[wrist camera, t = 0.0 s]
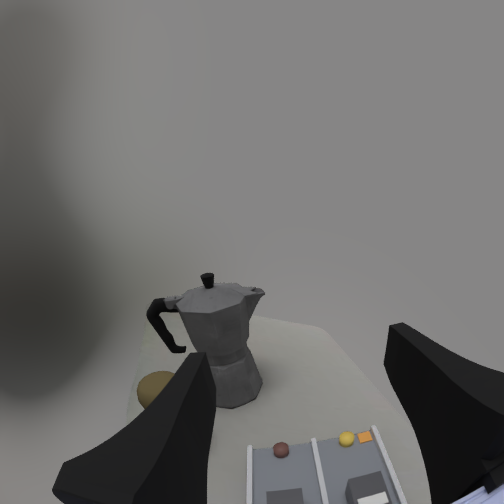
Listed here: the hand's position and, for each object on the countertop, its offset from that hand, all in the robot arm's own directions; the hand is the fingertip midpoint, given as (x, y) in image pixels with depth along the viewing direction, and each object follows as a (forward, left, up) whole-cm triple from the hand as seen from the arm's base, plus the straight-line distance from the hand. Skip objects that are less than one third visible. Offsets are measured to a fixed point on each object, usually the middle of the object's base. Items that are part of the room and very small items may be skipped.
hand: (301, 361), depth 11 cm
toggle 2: (+1, -5, -20) cm, 21 cm away
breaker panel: (+4, -2, -22) cm, 22 cm away
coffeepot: (+24, +9, -22) cm, 34 cm away
